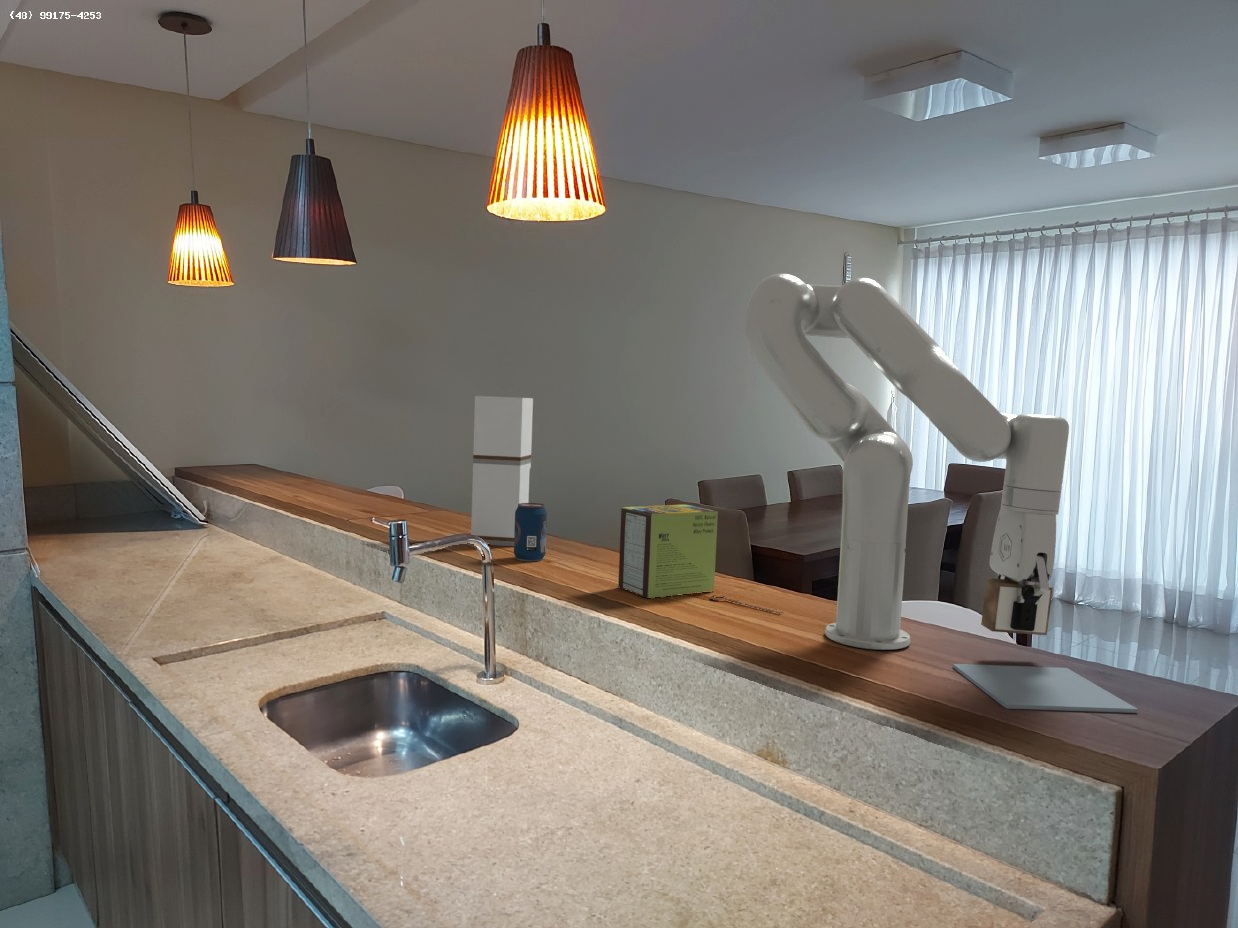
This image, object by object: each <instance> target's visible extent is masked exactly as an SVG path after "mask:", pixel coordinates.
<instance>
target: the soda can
mask: <svg viewBox="0 0 1238 928" xmlns="http://www.w3.org/2000/svg"><path fill="white" fill-rule="evenodd" d="M547 521H548V512H547V510H546V507H545V504H544V503H539V502H529V503H519V504H518V507H517V509H516V511H515V530H514V546H513V555H514V556H515V559H516V560H517V561H522V562H540V561H542V560H543V559H544V557H545V555H546V554H547V553H546V552H547V528H548V527H547V524H548V523H547Z"/></svg>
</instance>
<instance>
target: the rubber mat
mask: <svg viewBox="0 0 1238 928" xmlns="http://www.w3.org/2000/svg"><path fill="white" fill-rule="evenodd" d="M952 669H954V670H955V671H956V672H957V673H959V674H961V675H962V676H963V677H964V678H966V679H967V680H968V681H970V682H971V683H972V684H973V685H975V686H976V687H977V688H979V689H980V690H981V691H983V692H984V693H985V694H987V695H988V696H989V697H991V698H992V699H994V700H995V702H997V703H998V704H999V705H1001V706H1002V707H1003V708H1005V709H1008V710H1009V709H1010V710H1011V709H1012V710H1013V709H1014V710H1035V711H1036V710H1037V711H1038V710H1039V711H1040V710H1041V711H1064V712H1065V711H1071V712H1094V713H1095V712H1098V713H1124V714H1125V713H1126V714H1127V713H1128V714H1138V708H1137V707H1135V706H1133V705H1131V704H1130V703H1128V702H1126V701H1124V700H1123V699H1121V698H1120V697H1118V696H1116V695H1114V694H1113V693H1111V692H1110V691H1108V690H1106V689H1104V688H1103V687H1100V686H1099V685H1097V684H1096V683H1093V682H1092V681H1090V680H1088V679H1087V678H1085V677H1083V676H1082V675H1080V674H1078V673H1076V672H1075V671H1073V670H1071V669H1070V668H1068V667H1052V666H1050V667H1049V666H1025V665H1023V666H1021V665H996V664H995V665H994V664H970V663H968V664H967V663H966V664H965V663H964V664H963V663H952Z"/></svg>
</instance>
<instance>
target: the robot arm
mask: <svg viewBox="0 0 1238 928" xmlns="http://www.w3.org/2000/svg"><path fill="white" fill-rule="evenodd" d="M744 333H745V339H746V342H747V346H748V348H749V351H750V353H751V355H752V357H753V359H754V360H755V361H754V362H756V364H757V365H758V367H759V368H760V370H761V371H762V372H763V373H764V375H765V376H766V378H767V379H768V380H769V381H770V382H771V384H773V386H774V387H775V388H776V390H777V391H778V392H779V394H780V395H781V396H782V398H783V399H784V400H785V401H786V403H788V406H790V408H791V409H792V410H793V411H794V412H795V414H796V415H797V416H798V417H799V419H800V420H801V421H802V422H803V424H804V426H805V427H806V429H808V431H809V432H810V433H811V434H812V435H813V436H815V437H816V438H818V439H820V440H823V441H825V443H827V445H828V446H829V447H830V448H831V449H832V451H833V452H835V454H836V455H837V457H838V458H839V459H840V460H841V461H842V462H843V469H842V511H841V512H842V514H841V530H840V549H839V550H840V552H839V553H840V554H839V567H838V569H839V570H838V581H837V582H838V586H837V599H836V616H835V617H836V619H835V621H836V622H832V623H831V622H830V623H829V624H827V625H826V626H825V628H824V629H825V631H824V633H825V636H826V637H827V639H830V640H831V641H833V642H836V643H838V644H841V645H845V646H849V647H853V648H860V649H865V650H877V651H878V650H879V651H886V650H887V651H891V650H899V649H900V650H901V649H904V648H907V647H908V646H910V644H911V635H910V634H909V633H908V632H906V631H905V630H903V629H901V624H902V623H901V621H902V606H903V605H902V604H903V592H904V591H903V590H904V578H905V577H904V576H905V563H906V562H905V560H906V549H907V548H906V546H907V545H906V544H907V541H906V540H907V529H908V510H909V508H908V507H909V495H910V494H909V493H910V483H911V473H912V472H913V467H914V466H913V463H914V462H913V456H912V455H913V454H912V452H911V449H910V447H909V446H908V444H907V443H906V442H905V440H904V439H902V438H901V436H900V434H898V433H897V432H896V430H895V429H894V428H893V427H892V426H891V424H890V423H889V422H888V421H887V419H886V418H884V417H883V415H882V414H881V413H880V412H879V410H878V409H876V407H875V406H874V405H873V404H872V402H870V401H869V400H868V398H867V397H866V396H865V395H864V394H863V393H862V392H861V391H860V390H859V389H858V388H857V387H856V386H854V385H852V384H850V383H848V382H846V381H844V380H843V378H842V377H841V376H839V375H838V373H837V372H836V371H835V370H834V369H833V368H832V366H830V365H829V364H828V362H827V361H826V360H825V359H824V357H823V356H822V355H821V353H820V352H819V351H818V349H816V348H815V347H814V345H813V344H812V343H811V342H810V341H809V340H808V338H807V336H808V337H819V338H822V337H823V338H835V339H836V338H837V339H850V340H851V341H852V342H853V343H854V344H855V345H856V346H857V348H859V349H860V351H861V352H862V353H863V354H864V355H865V356H866V357H867V358H868V359H869V360H870V361H871V362H872V363H873V364H874V365H875V367H876V368H877V369H878V370H879V371H880V372H881V373H882V374H883V375H884V376H885V378H886V379H887V380H888V381H889V382H890V383H891V384H892V385H893V386H894V387H895V389H896V390H897V391H898V392H899V393H901V394H902V395H904V396H905V397H906V398H907V399H909V400H910V401H911V402H912V403H913V404H914V406H916V408H917V409H919V411H921V413H923V415H924V416H925V417H926V418H927V419H928V420H929V421H930V422H931V423H932V425H934V427H935V428H937V430H938V431H939V432H940V433H941V434H942V435H943V436H944V437H945V438H946V439H947V441H948V442H949V443H950V444H951V445H952V447H954V448H955V450H956V451H957V452H958V453H959V454H960V455H961V456H963V457H964V458H965V459H968V460H970V461H973V462H979V463H984V462H990V461H993V460H995V459H996V460H1003V459H1004V460H1005V462H1006V463H1005V470H1004V471H1005V472H1004V476H1003V477H1004V479H1003V486H1002V494H1001V503H1000V509H999V512H998V516H997V520H996V522H995V528H994V532H993V539H992V543H991V549H990V555H989V563H988V564H989V566H990V569H991V570H992V571H994V572H995V573H997V577H998V578H997V579H1007V580H1013V581H1017V582H1018V584H1017V602H1016V601H1014V603H1013V611H1012V619H1011V628H1012V629H1014V630H1022V631H1033V630H1034V628H1035V620H1036V613H1037V605H1038V604H1039V603H1040V597H1041V596H1042V594H1044V593H1046V592H1047V591H1048V590H1049V586H1050V584H1049V582H1050V581H1051V580H1052V576H1053V571H1054V566H1055V558H1056V543H1057V515H1059V514H1060V513H1059V511H1060V503H1061V495H1062V490H1063V487H1062V486H1063V479H1064V472H1065V465H1066V458H1067V450H1068V443H1069V442H1068V441H1069V433H1070V425H1069V422H1068V421H1067V419H1065V418H1064V417H1061V416H1058V415H1057V416H1056V415H1047V414H1036V413H1035V414H1034V413H1032V414H1031V413H1021V414H1009V413H1006V412H1005V413H1004V412H1000V411H999V410H998V409H997V408H996V407H995V406H994V404H993V403H991V402H990V400H988V398H987V397H985V395H984V394H983V393H981V391H980V390H979V389H978V387H976V385H974V383H972V382H971V381H970V380H969V378H967V377H966V375H964V374H963V372H961V370H960V369H959V368H958V367H957V366H956V365H955V364H954V362H952V360H951V359H950V358H949V356H948V354H946V352H945V351H944V350H943V348H942V347H941V346H940V345H939V344H938V343H937V342H936V341H935V340H934V339H933V338H932V337H931V336H930V335H929V333H927V332H926V331H925V329H923V327H921V325H919V323H917V321H915V319H914V318H913V317H912V316H911V315H910V314H909V313H908V312H907V310H905V309H904V307H903V306H902V305H901V304H900V303H899V302H898V301H897V300H896V299H895V298H894V297H893V296H892V295H891V294H890V293H889V292H888V291H887V290H886V289H885V288H884V287H883V286H882V285H881V284H879V282H877V281H875V280H874V279H871V278H868V277H856V278H853V279H851V280H848V281H847V282H845V283H843V284H842V285H828V284H827V285H826V284H813V283H811V284H810V283H809V284H808V283H806V282H804V281H803V280H801V279H800V278H798V277H797V276H795V275H793V274H789V273H776V274H775V273H774V274H772V275H769V276H767V277H765V278H763V279H762V280H761V281H760V282H759V283H758V284H757V286H755V288H754V290H753V292H752V293H751V295H750V297H749V300H748V303H747V305H746V309H745V315H744ZM1028 579H1031V580H1028ZM1025 585H1029V586H1032V587H1028V588H1027V590H1026V591H1025Z"/></svg>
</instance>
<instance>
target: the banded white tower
mask: <svg viewBox="0 0 1238 928" xmlns="http://www.w3.org/2000/svg"><path fill="white" fill-rule="evenodd" d="M533 408H534V398H532V397H511V396H491V395H490V396H488V395H486V396H484V395H474V413H473V414H474V417H473V418H474V420H473V424H474V425H473V450H472V451H473V454H472V456H473V457H472V483H471V484H472V487H471V488H472V489H471V490H472V491H471V498H472V499H471V519H470V520H471V522H470V523H471V524H470V526H471V527H470V536H471V535H476V536H478V537H480V538H482V539H483V540H484V541H485V542H487V543H489V544H490V545H489V546H500V547H501V546H502V547H514V530H515V511H516V509H517V507H518V504H519V503H530V502H529V499H530V498H529V494H530V493H529V492H530V470H531V469H532V466H531V465H532V446H533V445H532V444H533V443H532V441H533V411H534V410H533Z"/></svg>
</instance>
